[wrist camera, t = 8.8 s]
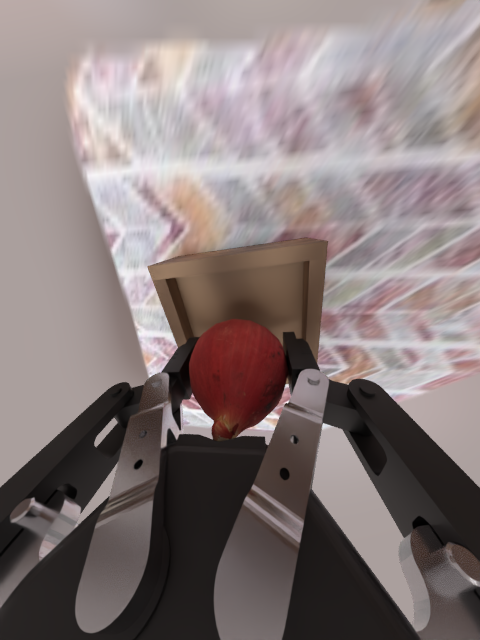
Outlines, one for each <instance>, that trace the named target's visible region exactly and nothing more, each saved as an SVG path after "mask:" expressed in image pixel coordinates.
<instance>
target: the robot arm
mask: <svg viewBox="0 0 480 640" xmlns="http://www.w3.org/2000/svg"><path fill="white" fill-rule="evenodd" d="M199 338H200V337H190V338H189V339H188V340H187V342H186V343H185V344H183V345H182V346H180V347H179V348H178V349H177V350H176V352H175V353H174V355H173V356H172V357H171V359H170V360H169V362H168V363H167V365H166V366H165V368H164V369H163V371H162V372H161V373H157V374H155V375H153V376H151V377H150V378H149V379H147V381H146V382H145V384H144V385H142V386H138V387H134V388H131V386H130V385H129V383H127V382H122V383H119V384H116V385H114V386H112V387H111V388H109V389H108V390H107V391H106V392H105V393H104V394H102V395H101V396H100V397H99V398H98V399H97V400H96V401H95V402H94V403H93V404H92V405H90V406H89V407H88V408H87V409H86V410H85V411H84V412H83V413H82V414H81V415H79V416H78V417H77V418H76V419H75V420H74V421H73V422H72V423H71V424H69V426H67V427H66V428H65V429H64V430H63V431H62V432H61V433H60V434H58V435H57V436H56V437H55V438H54V439H53V440H52V441H51V442H50V443H49V444H48V445H46V447H44V448H43V449H42V450H41V451H40V452H39V453H38V454H37V455H36V456H34V457H33V458H32V459H31V460H30V461H29V462H28V463H27V464H26V465H24V466H23V467H22V468H21V469H20V470H19V471H18V472H17V473H16V474H15V475H13V476H12V478H10V479H9V480H8V481H7V482H6V483H5V484H4V485H2V486H1V487H0V640H480V488H479V487H478V486H477V485H476V484H475V483H474V482H473V481H472V480H471V479H470V477H469V476H467V474H466V473H465V472H464V471H463V470H462V469H461V468H460V467H459V466H458V465H457V464H456V463H455V462H454V461H453V460H452V459H451V458H450V457H449V456H448V455H447V454H446V453H445V452H444V451H443V450H442V449H441V448H440V447H439V446H438V445H437V444H436V443H435V442H434V441H433V440H432V439H431V438H430V437H429V436H428V435H427V434H426V433H425V432H424V430H423V429H422V428H421V427H420V426H419V425H418V424H417V423H416V422H415V421H413V419H412V418H411V417H410V416H409V415H408V414H407V413H406V412H405V411H404V410H403V409H402V408H401V407H400V406H399V405H398V404H397V403H396V402H395V401H394V400H393V399H392V398H391V397H390V396H389V395H388V394H387V393H386V392H385V391H384V390H383V389H382V388H381V387H380V386H379V385H377V384H376V383H374V382H372V381H369V380H365V379H354V380H352V381H351V382H350V383H349V385H347V384H343V383H338V382H335V381H332V380H330V379H328V377H327V376H326V375H325V374H324V373H323V372H321V371H320V369H319V367H318V365H317V362H316V360H315V358H314V356H313V354H312V351H311V349H310V346H309V344H308V342H306V341H305V340H304V339H303V338H300V339H296V336H295V333H294V332H283V349H284V352H285V356H286V359H287V363H288V377H287V378H288V383H289V388H290V394H291V398H290V401H289V403H286V404H285V405H284V407H283V410H282V412H281V415H280V417H279V420H278V423H277V425H276V428H275V430H274V433H273V435H272V438H271V441H270V443H269V445H266V443H265V437H257V436H241V437H237V438H233V439H229V440H225V441H221V442H218V441H215V440H212V439H210V438H207V437H204V436H201V435H193V434H184V428H183V409H182V405H181V403H182V400H183V399H190V397H191V395H192V389H191V384H190V375H189V362H190V359H191V355H192V352H193V350H194V347H195V345H196V343H197V340H198V339H199ZM113 418H115V419H116V420H117V422H118V423H117V425H115V427H114V428H113V429H112V430H111V431H110V432H109V434H108V435H107V436H106V437H105V438H104V439H103V441H102V442H101V443H100V444H99V445H98V446H97V447H95V446H94V441H95V439H96V437H97V435H98V434H99V433H100V432H101V431H102V430H103V429H104V428H105V426H106V425H107V424H108V423H109V422H110V421H111V419H113ZM323 423H325V424H328V425H331V426H334V427H338V428H341V429H343V431H344V433H345V435H346V437H347V438H348V440H349V442H350V444H351V445H352V447H353V449H354V451H355V452H356V454H357V456H358V458H359V459H360V461H361V463H362V465H363V466H364V468H365V470H366V472H367V474H368V475H369V477H370V479H371V481H372V482H373V484H374V486H375V488H376V489H377V491H378V493H379V495H380V496H381V498H382V500H383V502H384V503H385V505H386V507H387V509H388V510H389V512H390V514H391V516H392V518H393V519H394V521H395V523H396V525H397V526H398V528H399V530H400V532H401V533H402V535H403V537H404V539H403V540H402V541H401V543H400V546H399V560H400V564H401V567H402V570H403V573H404V575H405V578H406V580H407V583H408V585H409V588H410V591H411V594H412V598H413V603H414V620H413V624H412V625H411V624H410V622H409V621H408V620H407V618H406V617H405V615H404V614H403V613H402V611H401V610H400V608H399V607H398V606H397V604H396V603H395V602H394V601H393V599H392V598H391V596H390V595H389V594H388V592H387V591H386V590H385V588H384V587H383V585H382V584H381V583H380V581H379V580H378V579H377V577H376V576H375V575H374V573H373V572H372V570H371V569H370V568H369V566H368V565H367V564H366V562H365V561H364V560H363V558H362V557H361V555H360V554H359V553H358V551H357V550H356V549H355V547H354V546H353V545H352V543H351V542H350V541H349V539H348V538H347V537H346V535H345V534H344V532H343V531H342V530H341V528H340V527H339V526H338V524H337V523H336V522H335V520H334V519H333V517H332V516H331V515H330V513H329V512H328V511H327V509H326V508H325V507H324V505H323V504H322V503H321V501H320V500H319V498H318V497H317V496H316V494H315V493H314V492H313V490H312V483H313V477H314V471H315V465H316V459H317V453H318V447H319V441H320V436H321V430H322V424H323ZM117 462H118V465H117V469H116V473H115V477H114V481H113V485H112V489H111V493H110V496H109V497H108V498H107V499H106V500H105V501H104V502H103V503H102V504H100V505H99V506H98V507H97V508H96V509H95V510H94V511H93V512H92V513H91V514H90V515H89V516H88V517H87V518H86V519H84V520H83V521H82V522H81V523H80V524H78V523H77V521H78V519H79V516H80V514H81V513H82V511H83V510H84V508H85V507H86V505H87V504H88V503H89V501H90V500H91V499H92V497H93V496H94V494H95V493H96V492H97V490H98V489H99V488H100V486H101V484H102V483H103V482H104V481H105V479H106V478H107V476H108V475H109V474H110V472H111V471H112V469H113V468H114V467H115V465H116V464H117Z"/></svg>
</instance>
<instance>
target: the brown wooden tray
mask: <svg viewBox="0 0 480 640" xmlns="http://www.w3.org/2000/svg"><path fill="white" fill-rule="evenodd" d="M327 245H328V241H324V240H317V239H311V238H301V239H294V240H288V241H281V242H274V243H267V244H260V245H253V246H246V247H240V248H233V249H226V250H219V251H212V252H205V253H198V254H192V255H185V256H178V257H175V258H172V259H169V260H166V261H163V262H160V263H156V264H153V265H150V266H147V267H148V270H149V272H150V275H151V278H152V280H153V283H154V286H155V288H156V291H157V293H158V296H159V299H160V301H161V304H162V307H163V309H164V312H165V315H166V317H167V320H168V322H169V325H170V328H171V330H172V333H173V336H174V338H175V341H176V344H177V346H178V348H179V347H180V346H182V345H183V344H185V343H186V342H187V340H188V339H189V338H190V337H201V335H202V334H203V333H204V332H206V331H207V330H208V329H209V328H211V327H212V326H213V325H215V324H217V323H220V322H224V321H227V320H231V319H241V320H250V321H253V322H255V323H257V324H259V325H262V326H264V327H266V328H267V329H268V330H269V331H270V332H271V333H273V334H274V335H275V336H276V337H277V338H278V339H279V341H280V342H281V344H282V346H283V332H294V333H295V336H296V339H300V338H303V339H304V340H305V341H306V342H308V344H309V346H310V349H311V351H312V354H313V356H314V358H315V360H316V362H317V359H318V348H319V336H320V325H321V313H322V302H323V291H324V279H325V268H326V256H327ZM286 384H289V383H288V378H287V381H286Z"/></svg>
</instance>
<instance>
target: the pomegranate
mask: <svg viewBox="0 0 480 640" xmlns="http://www.w3.org/2000/svg"><path fill="white" fill-rule="evenodd" d="M189 375H190V384H191V389H192V393H193V395H194V397H195V399H196V400H197V402H198V403H199V405H200V406H201V408H202V409H203V411H204V412H205V413H206V414H207V415H208V416H209V417H210V418H211V419H213V420H214V424H213V426H212V436H213V440H215V441H218V442H221V441H225V440H229V439H233V438H236V437H237V436H238V435H239V434H240V433H241V432H242V431H243V430H245V429H247V428H250V427H253V426H254V425H256V424H258V423H259V422H261V421H262V420H263V419H264V418H265V417H266V416H267V415H268V414H269V413H270V412H271V411H272V410H273V409H274V408H275V407H276V406H277V405H278V403H279V401H280V399H281V397H282V394H283V391H284V387H285V384H286V381H287V377H288V363H287V359H286V356H285V352H284V349H283V346H282V344H281V342H280V341H279V339H278V338H277V337H276V336H275V335H274V334H273V333H271V332H270V331H269V330H268V329H267V328H266V327H264V326H262V325H259V324H257V323H255V322H253V321H250V320H241V319H231V320H227V321H224V322H220V323H217V324H215V325H213V326H212V327H211V328H209V329H208V330H207V331H206V332H204V333H203V334H202V335H201V337H200V338H199V339H198V340H197V343H196V345H195V347H194V350H193V352H192V355H191V359H190V362H189Z"/></svg>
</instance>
